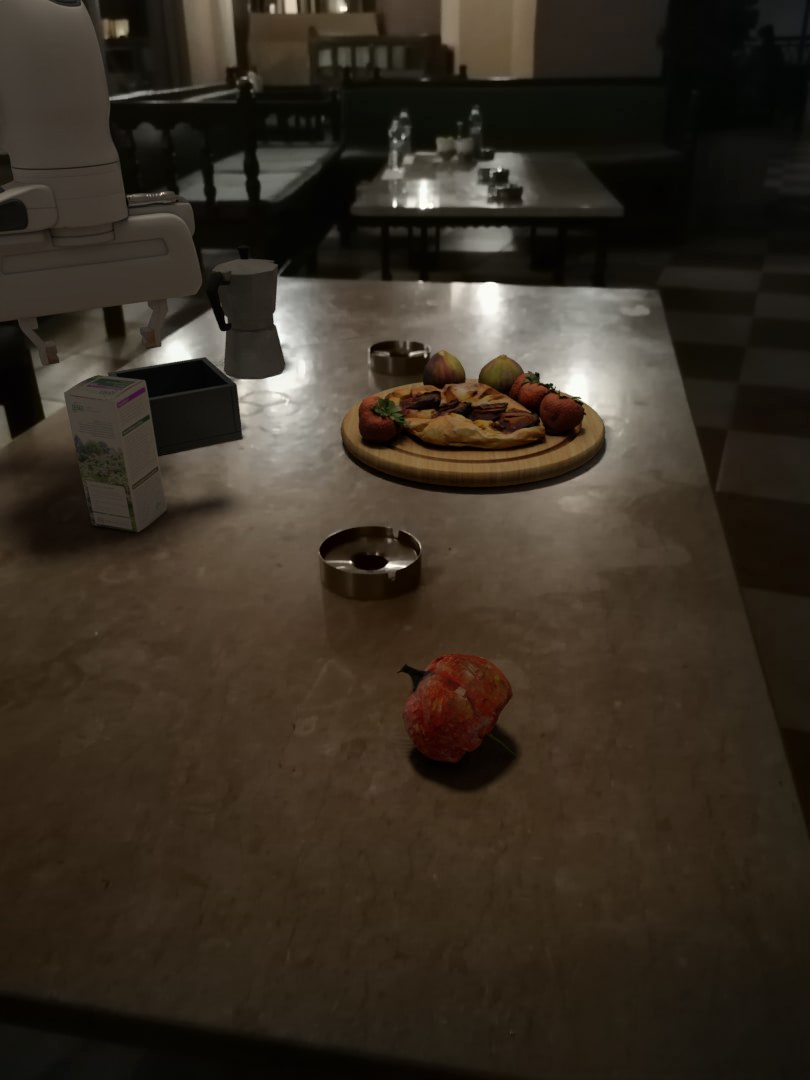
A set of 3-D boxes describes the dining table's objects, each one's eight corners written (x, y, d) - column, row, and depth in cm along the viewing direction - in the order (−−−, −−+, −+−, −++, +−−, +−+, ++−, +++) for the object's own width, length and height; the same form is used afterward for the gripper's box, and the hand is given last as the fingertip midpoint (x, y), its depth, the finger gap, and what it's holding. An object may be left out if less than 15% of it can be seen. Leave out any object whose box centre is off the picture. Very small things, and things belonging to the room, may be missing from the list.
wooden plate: (369, 509, 95) (366, 435, 91) (323, 405, 122) (319, 345, 118) (651, 475, 101) (660, 405, 97) (547, 383, 128) (550, 326, 124)
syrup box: (169, 509, 95) (148, 376, 88) (137, 535, 90) (112, 396, 83) (123, 502, 97) (98, 371, 90) (89, 527, 92) (60, 390, 85)
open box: (140, 459, 107) (131, 403, 103) (117, 425, 117) (107, 372, 113) (242, 438, 112) (236, 384, 109) (211, 407, 122) (205, 356, 118)
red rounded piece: (505, 739, 66) (403, 649, 66) (567, 699, 61) (457, 601, 61) (465, 815, 61) (354, 718, 61) (529, 778, 56) (408, 671, 56)
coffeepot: (254, 353, 143) (243, 234, 134) (305, 361, 139) (297, 239, 130) (192, 383, 131) (175, 254, 122) (246, 392, 127) (233, 260, 118)
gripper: (180, 184, 85) (199, 330, 92) (-56, 205, 77) (-16, 363, 84) (200, 192, 80) (219, 345, 87) (-50, 216, 72) (-8, 382, 79)
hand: (102, 354), depth 85 cm, fingers open, 8 cm apart
